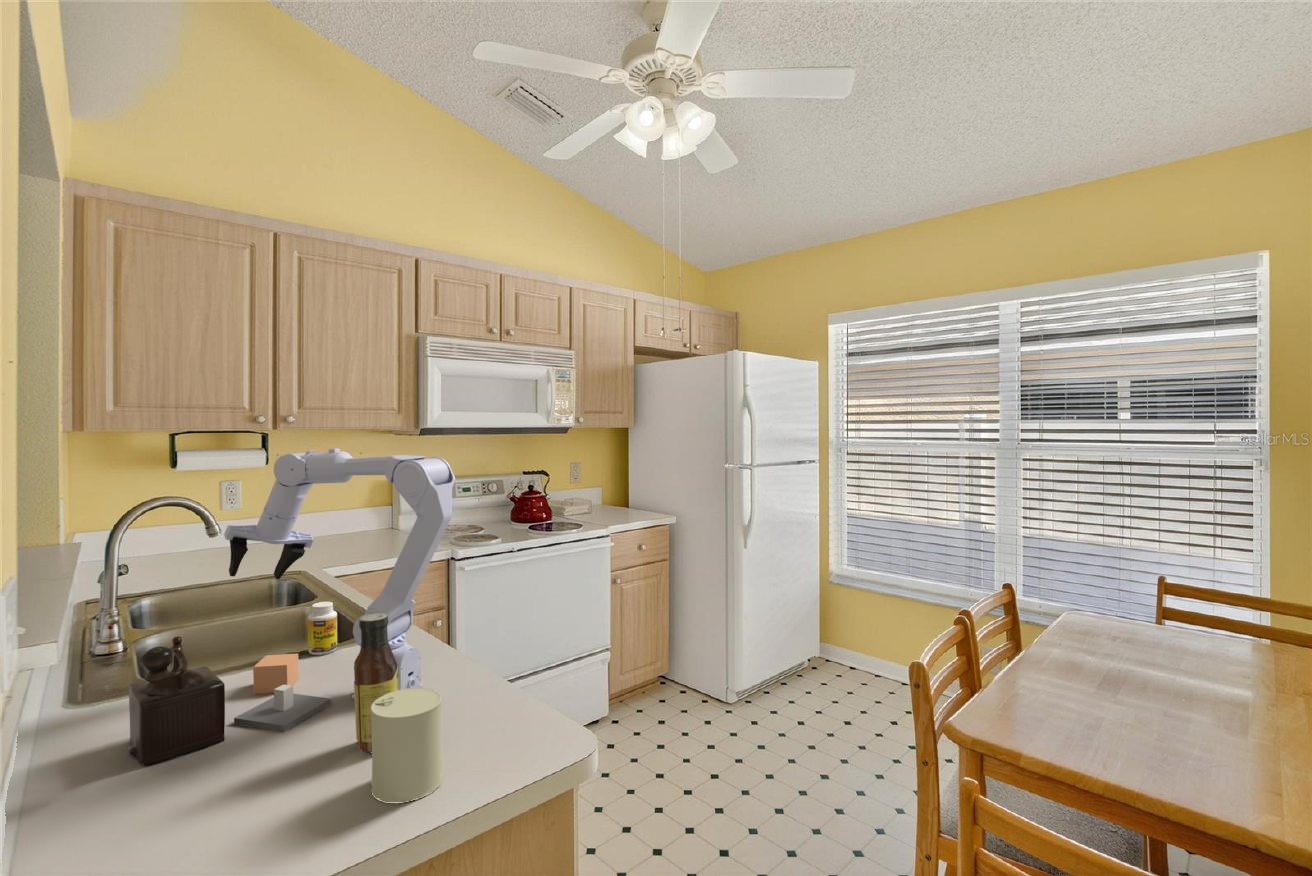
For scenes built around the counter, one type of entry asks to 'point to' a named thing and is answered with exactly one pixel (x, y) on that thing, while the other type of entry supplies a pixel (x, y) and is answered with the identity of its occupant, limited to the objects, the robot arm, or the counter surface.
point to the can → (406, 744)
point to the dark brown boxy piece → (174, 707)
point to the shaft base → (282, 710)
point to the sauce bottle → (372, 674)
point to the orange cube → (275, 672)
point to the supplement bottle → (322, 629)
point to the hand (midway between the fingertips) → (254, 575)
